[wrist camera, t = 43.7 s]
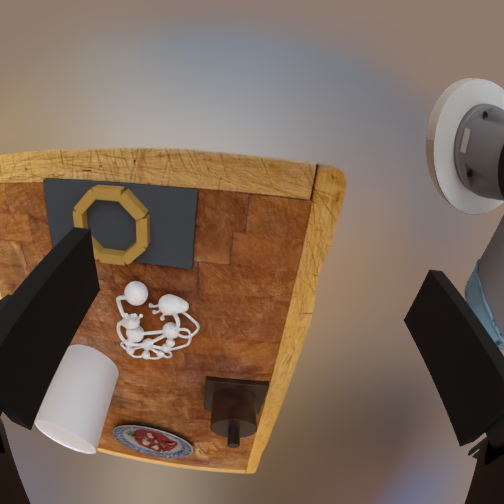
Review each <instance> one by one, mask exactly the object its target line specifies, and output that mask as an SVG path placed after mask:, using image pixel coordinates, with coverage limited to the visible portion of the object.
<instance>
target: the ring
mask: <svg viewBox="0 0 504 504" xmlns="http://www.w3.org/2000/svg"><path fill="white" fill-rule="evenodd" d="M96 199H97V200H109V201H119V203H120V204H121V205H122V206H123V207H124V208H125V209H126V210H127V211H128V212H129V213H130V215H131V216H132V217H133V218H134V219H135V220H136V239H137V241H136V242H135V243H134V244H132V245H131V246H130V247H129V248H128V249H127V250H126V251H122V250H115V249H107V248H104V247H103V246H102V245H101V244H100V243H99V242H98V241H97V240H96V239H95V238H94V237H93V236H92V243H93V251H94V258H95V259H96V260H97V259H98V258H99V261H100V262H102V263H109V264H115V265H122V266H125V264H127V265H129V264H130V263H131V262H132V261H133V260H135V259H136V258H137V257H138V256H139V255H141V254H142V253H143V252H144V251H146V249H147V247H148V245H149V243H150V214H147V213H148V211H149V210H148V209H147V208H146V207H145V206H144V205H143V204H142V203H141V202H140V201H139V199H138V198H137V197H136V196H135V195H134V194H133V193H132V192H131V191H130V190H129V188H128V189H127V190H126V191H125V187H124V186H112V185H96V186H93V187H92V188H91V189H90V190H89V191H88V192H87V193H86V194H85V195H84V196H83V198H82V199H81V200H80V201H79V202H78V203H77V205H76V206H75V207H74V209H75V210H74V211H73V220H74V227H78V228H87V229H88V221H87V209H88V208H89V207H90V206H91V205H92V204H93V203H94V202H95V200H96Z"/></svg>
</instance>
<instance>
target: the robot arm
mask: <svg viewBox="0 0 504 504" xmlns="http://www.w3.org/2000/svg"><path fill="white" fill-rule="evenodd" d="M454 162H455V167H456V171H457V174H458V176H459V178H460V180H461V182H462V183H463V185H464V186H465V187H466V188H467V189H468V190H470V191H471V192H473V193H474V194H476V195H478V196H481V197H483V198H489V199H495V200H502V201H504V110H503V109H502V108H500V107H498V106H495V105H491V104H478V105H476V106H474V107H472V108H471V109H470V110H469V111H467V113H466V114H465V115H464V117H463V118H462V120H461V122H460V124H459V126H458V129H457V132H456V136H455V141H454ZM99 290H100V288H99V282H98V276H97V270H96V264H95V258H94V251H93V243H92V235H91V229H87V228H78V227H73V228H72V229H71V230H70V231H69V232H68V233H67V234H66V235H65V236H64V237H63V238H62V239H61V240H60V241H59V242H58V243H57V245H56V246H55V247H54V248H53V249H52V250H51V251H50V252H49V253H48V254H47V255H46V256H45V257H44V258H43V260H42V261H41V262H40V263H39V264H38V265H37V266H36V267H35V269H34V270H33V271H32V272H31V273H30V274H29V275H28V277H27V278H26V279H25V280H24V281H23V283H22V284H21V285H20V286H19V287H18V289H17V290H16V291H15V292H14V294H13V295H9V294H8V295H7V296H5V297H4V298H2V299H1V300H0V416H1V414H2V412H4V413H5V414H6V415H7V416H8V418H9V419H10V420H11V421H13V422H14V423H16V424H19V425H21V426H23V427H25V428H27V429H29V430H31V429H32V426H33V423H34V421H35V418H36V416H37V414H38V411H39V409H40V406H41V404H42V402H43V399H44V397H45V395H46V392H47V390H48V388H49V386H50V384H51V381H52V379H53V377H54V375H55V373H56V371H57V369H58V367H59V364H60V362H61V360H62V358H63V356H64V354H65V352H66V350H67V348H68V346H69V345H70V343H71V341H72V339H73V337H74V335H75V333H76V331H77V329H78V327H79V326H80V324H81V322H82V320H83V318H84V317H85V315H86V313H87V311H88V309H89V308H90V306H91V304H92V302H93V301H94V299H95V297H96V296H97V294H98V292H99ZM465 299H466V301H465V300H464V298H463V297H462V296H461V294H460V293H459V292H458V291H457V289H456V288H455V287H454V285H453V284H452V283H451V282H450V280H449V279H448V278H447V277H446V275H445V274H444V273H443V272H442V271H436V270H429V272H428V274H427V276H426V278H425V280H424V282H423V285H422V286H421V289H420V290H419V292H418V294H417V296H416V298H415V300H414V302H413V304H412V306H411V308H410V310H409V312H408V313H407V315H406V317H405V319H404V321H405V323H406V325H407V327H408V329H409V331H410V333H411V335H412V337H413V339H414V341H415V343H416V345H417V347H418V349H419V351H420V353H421V355H422V357H423V359H424V361H425V363H426V366H427V368H428V370H429V372H430V374H431V376H432V378H433V381H434V383H435V385H436V388H437V390H438V392H439V394H440V397H441V399H442V401H443V404H444V406H445V409H446V411H447V413H448V416H449V418H450V421H451V423H452V426H453V428H454V431H455V434H456V436H457V439H458V442H459V444H460V446H463V445H465V444H468V443H471V442H474V441H475V440H476V439H477V438H478V437H480V436H481V435H482V434H483V433H486V435H487V437H486V438H485V439H483V440H482V441H481V442H479V443H478V444H477V445H476V446H474V447H473V448H472V449H471V450H470V451H469V453H468V455H471V454H472V453H474V452H475V451H476V450H477V449H480V450H479V451H478V452H477V453H475V454H474V455H473V457H474V458H476V459H477V464H476V467H475V471H474V475H473V478H472V482H471V485H470V489H469V492H468V495H467V498H466V501H465V504H504V356H503V354H502V353H501V351H500V350H499V348H500V349H502V350H504V215H503V217H502V219H501V222H500V223H499V225H498V227H497V229H496V232H495V233H494V235H493V237H492V239H491V241H490V243H489V244H488V246H487V248H486V250H485V252H484V253H483V255H482V257H481V258H480V259H479V260H478V261H477V263H476V266H475V269H474V271H473V273H472V274H471V277H470V278H469V280H468V281H467V284H466V287H465ZM0 504H30V501H29V499H28V497H27V494H26V492H25V490H24V487H23V484H22V482H21V479H20V477H19V474H18V471H17V468H16V465H15V462H14V459H13V456H12V453H11V450H10V446H9V443H8V439H7V435H6V432H5V428H4V424H3V422H2V420H1V418H0Z"/></svg>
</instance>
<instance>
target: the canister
mask: <svg viewBox="0 0 504 504" xmlns="http://www.w3.org/2000/svg"><path fill="white" fill-rule="evenodd" d="M118 376H119V371H118V369H117V367H116V365H115V364H114V363H113V361H112V360H111V359H109V358H108V357H107V356H106V355H104V354H103V353H101V352H100V351H98V350H96V349H94V348H91V347H89V346H85V345H80V344H75V345H71V346H69V347H68V348H67V350H66V352H65V354H64V356H63V358H62V360H61V362H60V364H59V367H58V369H57V371H56V373H55V375H54V377H53V379H52V381H51V384H50V386H49V388H48V390H47V392H46V395H45V397H44V399H43V402H42V404H41V406H40V409H39V411H38V414H37V416H36V419H35V422H34V423H35V425H36V427H37V428H38V429H39V430H40V431H41V432H42V433H44V434H45V435H46V436H48V437H49V438H51V439H52V440H54V441H56V442H57V443H59V444H61V445H63V446H65V447H67V448H70V449H72V450H75V451H79V452H82V453H86V454H95V453H96V451H97V448H98V444H99V440H100V436H101V433H102V429H103V426H104V422H105V419H106V415H107V412H108V408H109V405H110V402H111V398H112V395H113V392H114V389H115V386H116V382H117V379H118Z"/></svg>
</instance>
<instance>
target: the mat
mask: <svg viewBox="0 0 504 504" xmlns="http://www.w3.org/2000/svg"><path fill="white" fill-rule="evenodd" d="M43 182H44V192H45V201H46V209H47V216H48V223H49V229H50V235H51V241H52V246H53V248H54V247H55V246H56V245H57V243H58V242H59V241H60V240H61V239H62V238H63V237H64V236H65V235H66V234H67V233H68V232H69V231H70V230H71V229H72V228H73V227H74V220H73V211H74V210H75V209H74V207H75V206H76V205H77V203H78V202H79V201H80V200H81V199H82V198H83V196H84V195H85V194H86V193H87V192H88V191H89V190H90V189H91V188H92V187H93V186H96V185H112V186H124V187H125V191H126V190H127V189H128V188H129V190H130V191H131V192H132V193H133V194H134V195H135V196H136V197H137V198H138V199H139V201H140V202H141V203H142V204H143V205H144V206H145V207H146V208H147V209H148V210H149V211H148V213H147V214H150V243H149V245H148V247H147V249H146V251H144V252H143V253H142V254H141V255H139V256H138V257H137V258H136V259H135V260H133V261H132V262H140V263H147V264H154V265H162V266H169V267H177V268H185V269H192V268H193V254H194V239H195V225H196V212H197V200H198V190H196V189H187V188H177V187H167V186H156V185H145V184H133V183H120V182H106V181H90V180H72V179H47V178H46V179H44V180H43ZM87 221H88V229H91V235H92V236H93V237H94V238H95V239H96V240H97V241H98V242H99V243H100V244H101V245H102V246H103V247H104V248H107V249H115V250H122V251H126V250H127V249H128V248H129V247H130V246H131V245H132V244H134V243H135V242H136V241H137V239H136V220H135V219H134V218H133V217H132V216H131V215H130V213H129V212H128V211H127V210H126V209H125V208H124V207H123V206H122V205H121V204H120V203H119V201H109V200H97V199H96V200H95V202H94V203H93V204H92V205H91V206H90V207H89V208H88V209H87Z"/></svg>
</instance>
